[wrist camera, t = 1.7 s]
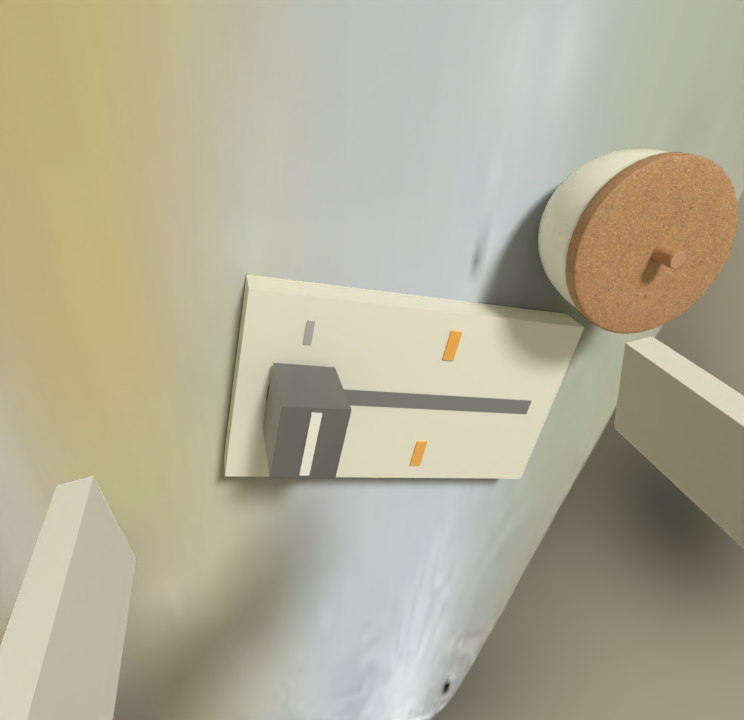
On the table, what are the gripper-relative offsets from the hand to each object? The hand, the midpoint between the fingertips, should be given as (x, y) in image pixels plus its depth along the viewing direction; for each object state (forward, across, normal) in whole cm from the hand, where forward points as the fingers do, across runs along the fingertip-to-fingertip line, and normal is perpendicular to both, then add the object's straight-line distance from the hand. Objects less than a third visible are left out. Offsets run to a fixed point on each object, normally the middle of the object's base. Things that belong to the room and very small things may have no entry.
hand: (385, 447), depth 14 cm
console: (+23, +6, -14) cm, 28 cm away
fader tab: (+20, -2, -11) cm, 23 cm away
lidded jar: (+23, +20, -4) cm, 31 cm away
